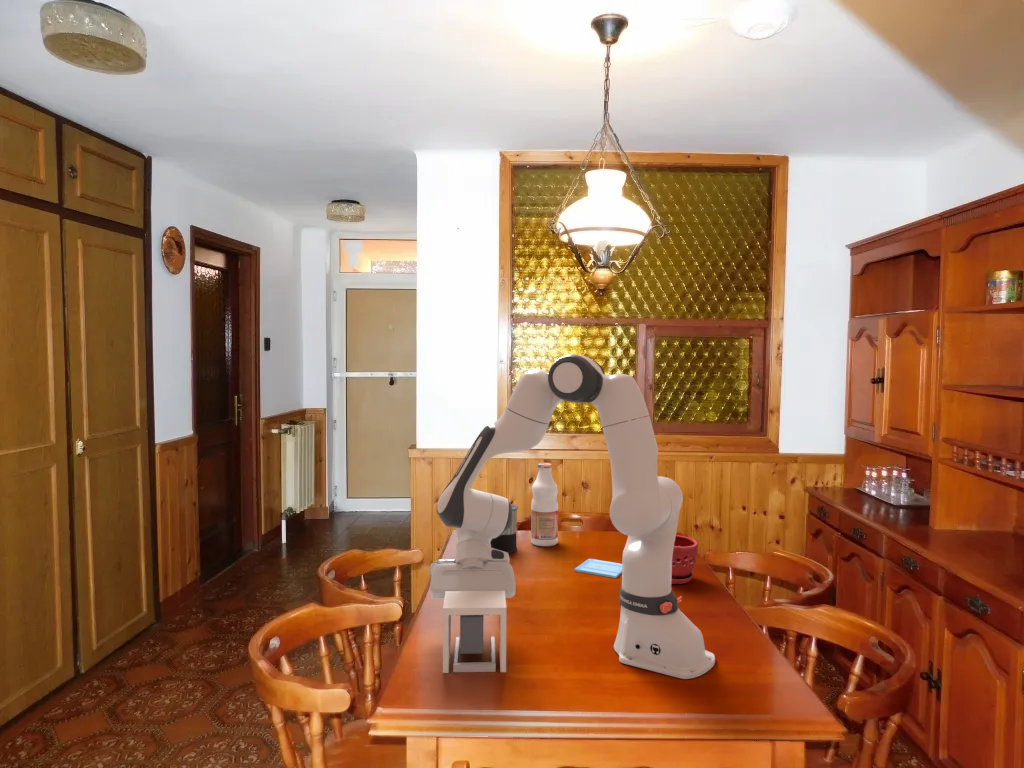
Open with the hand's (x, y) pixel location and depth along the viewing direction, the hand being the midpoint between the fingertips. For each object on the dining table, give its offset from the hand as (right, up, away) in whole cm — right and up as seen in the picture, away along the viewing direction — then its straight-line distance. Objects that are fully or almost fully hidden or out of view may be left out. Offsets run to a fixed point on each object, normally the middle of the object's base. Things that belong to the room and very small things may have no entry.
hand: (472, 614), depth 158 cm
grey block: (0, -5, -4) cm, 6 cm away
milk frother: (+5, -4, +71) cm, 71 cm away
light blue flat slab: (+37, -5, +55) cm, 66 cm away
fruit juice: (+20, -3, +83) cm, 85 cm away
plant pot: (+57, -5, +46) cm, 74 cm away
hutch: (+1, -8, -4) cm, 8 cm away
